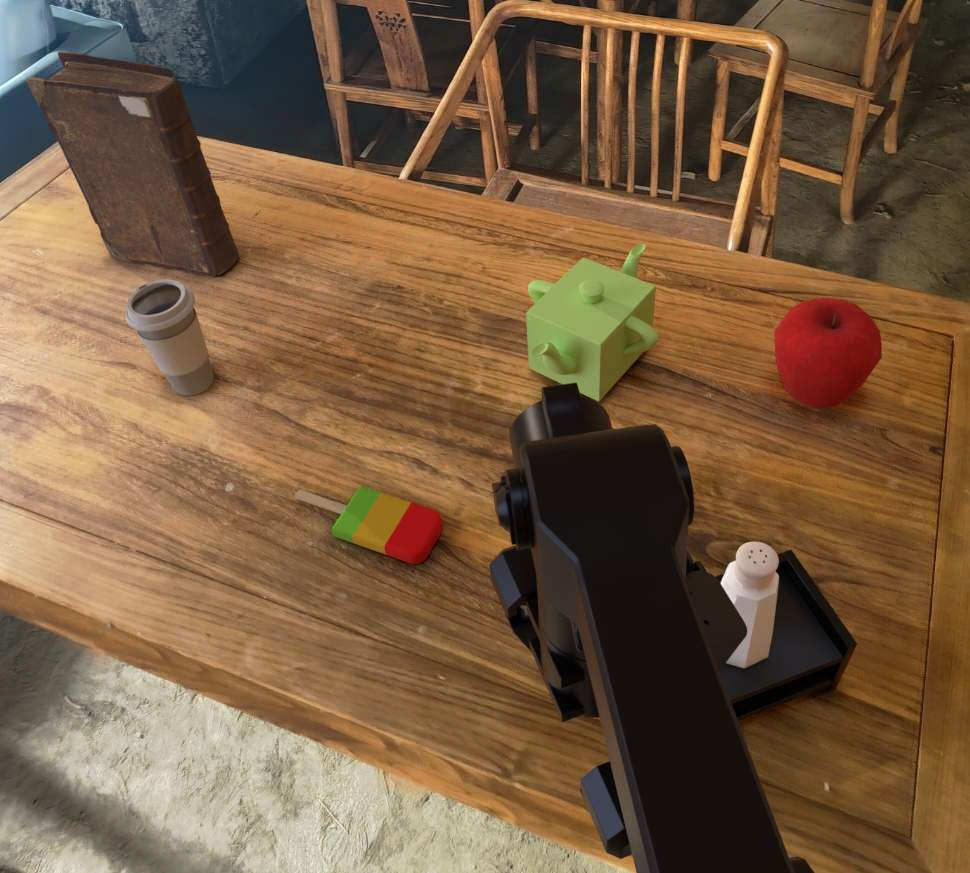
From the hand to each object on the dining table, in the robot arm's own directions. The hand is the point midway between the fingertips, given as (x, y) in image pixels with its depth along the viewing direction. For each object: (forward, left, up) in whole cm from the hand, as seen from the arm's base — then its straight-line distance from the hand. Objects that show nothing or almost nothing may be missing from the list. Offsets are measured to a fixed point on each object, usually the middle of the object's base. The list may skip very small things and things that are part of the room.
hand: (590, 736), depth 59 cm
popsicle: (+32, +9, -13) cm, 36 cm away
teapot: (+43, -19, -13) cm, 49 cm away
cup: (+58, +22, -13) cm, 63 cm away
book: (+81, +21, -13) cm, 85 cm away
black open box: (+6, -15, -13) cm, 21 cm away
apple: (+30, -38, -13) cm, 50 cm away
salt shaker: (+6, -15, -7) cm, 17 cm away
